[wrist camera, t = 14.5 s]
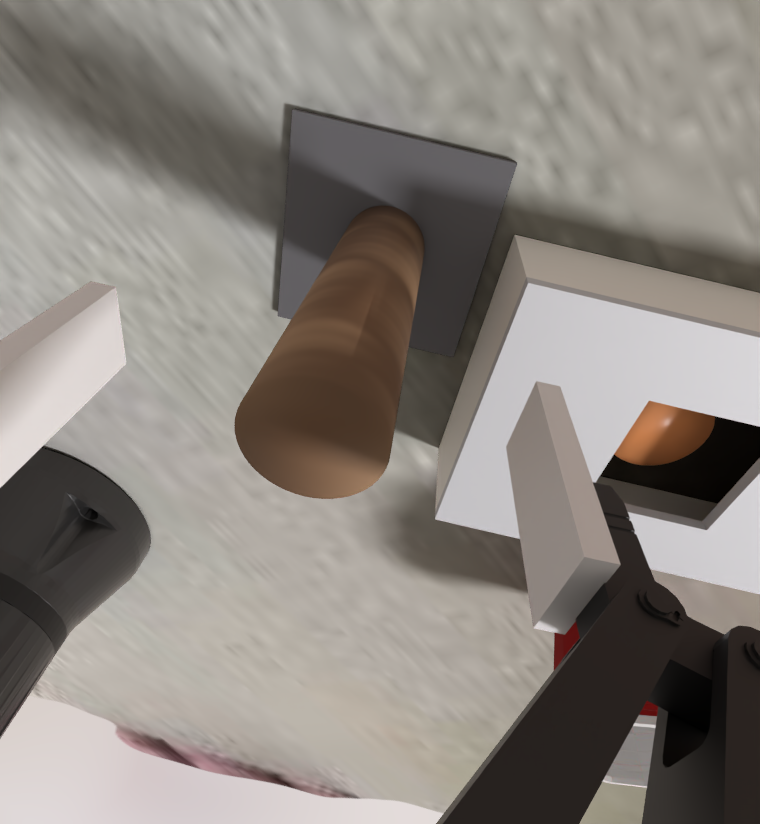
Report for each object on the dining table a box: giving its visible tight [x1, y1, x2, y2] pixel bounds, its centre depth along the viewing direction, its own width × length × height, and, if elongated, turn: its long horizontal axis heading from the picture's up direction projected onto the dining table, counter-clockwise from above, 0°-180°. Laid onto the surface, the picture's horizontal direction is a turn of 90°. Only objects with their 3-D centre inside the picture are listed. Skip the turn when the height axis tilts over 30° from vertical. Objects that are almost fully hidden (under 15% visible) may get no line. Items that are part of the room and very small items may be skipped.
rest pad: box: [278, 109, 517, 357], centre depth 25 cm, size 10×10×1 cm
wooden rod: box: [235, 206, 425, 499], centre depth 19 cm, size 4×4×15 cm
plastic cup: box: [554, 622, 658, 788], centre depth 34 cm, size 11×11×12 cm
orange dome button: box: [614, 401, 715, 465], centre depth 27 cm, size 5×5×2 cm
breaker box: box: [435, 235, 760, 594], centre depth 26 cm, size 20×14×6 cm
